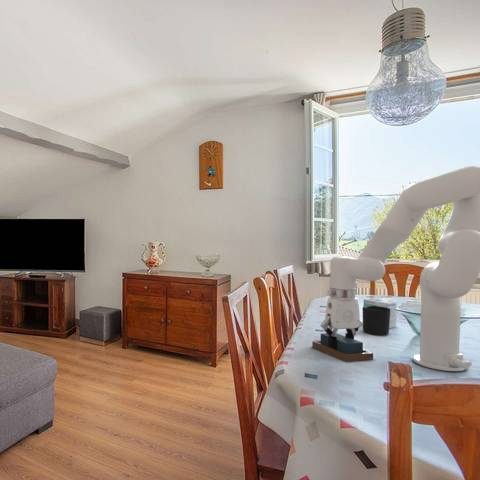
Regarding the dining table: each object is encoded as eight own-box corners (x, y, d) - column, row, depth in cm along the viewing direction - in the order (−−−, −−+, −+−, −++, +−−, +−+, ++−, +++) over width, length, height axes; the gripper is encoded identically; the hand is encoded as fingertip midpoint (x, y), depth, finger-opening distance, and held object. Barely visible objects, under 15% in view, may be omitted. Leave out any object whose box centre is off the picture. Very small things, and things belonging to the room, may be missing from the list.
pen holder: (393, 336, 155) (394, 311, 155) (366, 335, 157) (367, 309, 157) (383, 330, 164) (384, 306, 164) (358, 329, 166) (359, 305, 166)
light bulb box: (362, 323, 176) (362, 298, 176) (372, 321, 179) (372, 297, 179) (387, 328, 167) (387, 303, 166) (397, 327, 170) (397, 301, 169)
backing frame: (373, 359, 128) (373, 352, 128) (346, 361, 126) (346, 355, 126) (336, 345, 144) (336, 339, 143) (312, 347, 141) (312, 341, 141)
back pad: (362, 353, 130) (362, 342, 130) (346, 354, 128) (347, 343, 128) (335, 342, 141) (335, 332, 141) (320, 343, 140) (320, 333, 140)
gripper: (328, 296, 129) (326, 352, 129) (373, 294, 132) (371, 348, 133) (312, 292, 136) (310, 345, 137) (355, 291, 140) (353, 342, 140)
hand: (340, 346), depth 135 cm, fingers closed on back pad, 6 cm apart
